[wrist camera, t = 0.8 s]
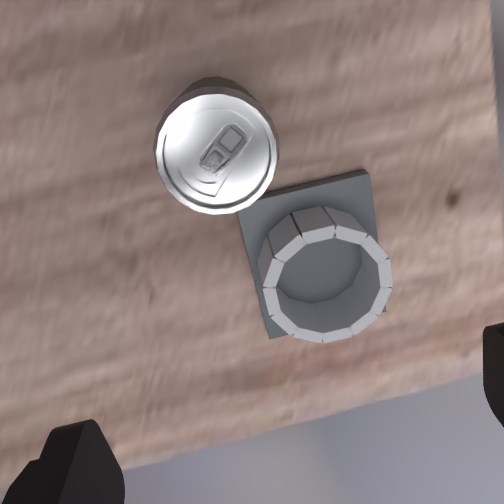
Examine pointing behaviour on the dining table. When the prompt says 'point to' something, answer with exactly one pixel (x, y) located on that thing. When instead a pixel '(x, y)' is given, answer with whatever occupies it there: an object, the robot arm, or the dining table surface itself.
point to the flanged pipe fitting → (317, 258)
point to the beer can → (216, 147)
